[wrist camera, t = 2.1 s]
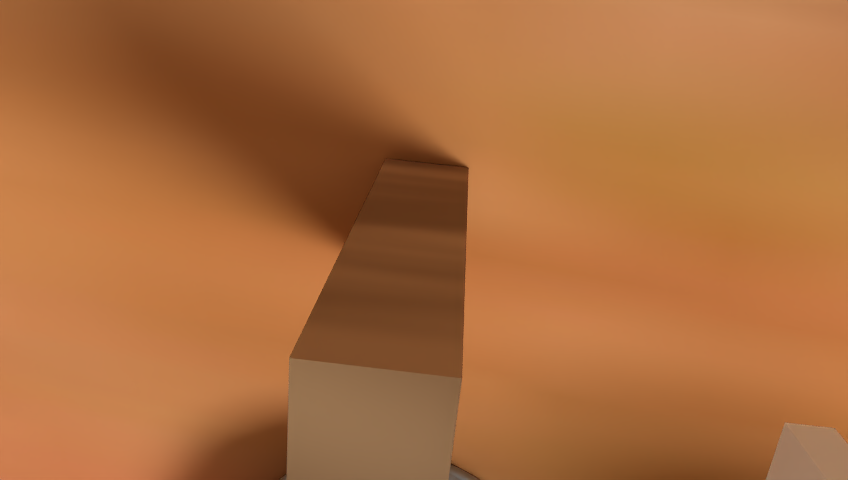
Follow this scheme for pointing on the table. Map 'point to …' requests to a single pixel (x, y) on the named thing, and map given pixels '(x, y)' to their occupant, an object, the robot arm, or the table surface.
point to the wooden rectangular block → (386, 337)
